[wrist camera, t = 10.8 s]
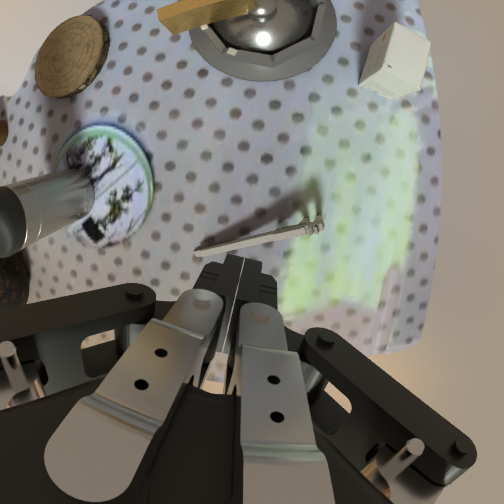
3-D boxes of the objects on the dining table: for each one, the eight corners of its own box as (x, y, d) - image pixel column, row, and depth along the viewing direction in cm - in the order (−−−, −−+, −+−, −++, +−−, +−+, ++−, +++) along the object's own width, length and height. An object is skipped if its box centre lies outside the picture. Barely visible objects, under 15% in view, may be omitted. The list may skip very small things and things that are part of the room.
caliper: (319, 212, 44) (326, 223, 38) (321, 219, 44) (328, 231, 38) (194, 250, 47) (183, 265, 41) (196, 256, 47) (186, 272, 42)
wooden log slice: (114, 9, 33) (107, 3, 30) (107, 87, 38) (98, 85, 36) (49, 35, 34) (39, 32, 31) (42, 107, 39) (32, 106, 37)
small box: (389, 101, 36) (420, 91, 27) (356, 85, 36) (380, 69, 26) (402, 59, 34) (433, 42, 24) (370, 43, 33) (395, 20, 23)
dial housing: (174, 70, 37) (165, 64, 33) (210, -37, 29) (206, -49, 25) (320, 97, 37) (325, 93, 34) (345, -15, 30) (350, -26, 26)
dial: (295, -24, 29) (299, -56, 20) (321, 46, 33) (333, 23, 25) (172, 4, 32) (151, -21, 23) (188, 75, 36) (167, 59, 28)
